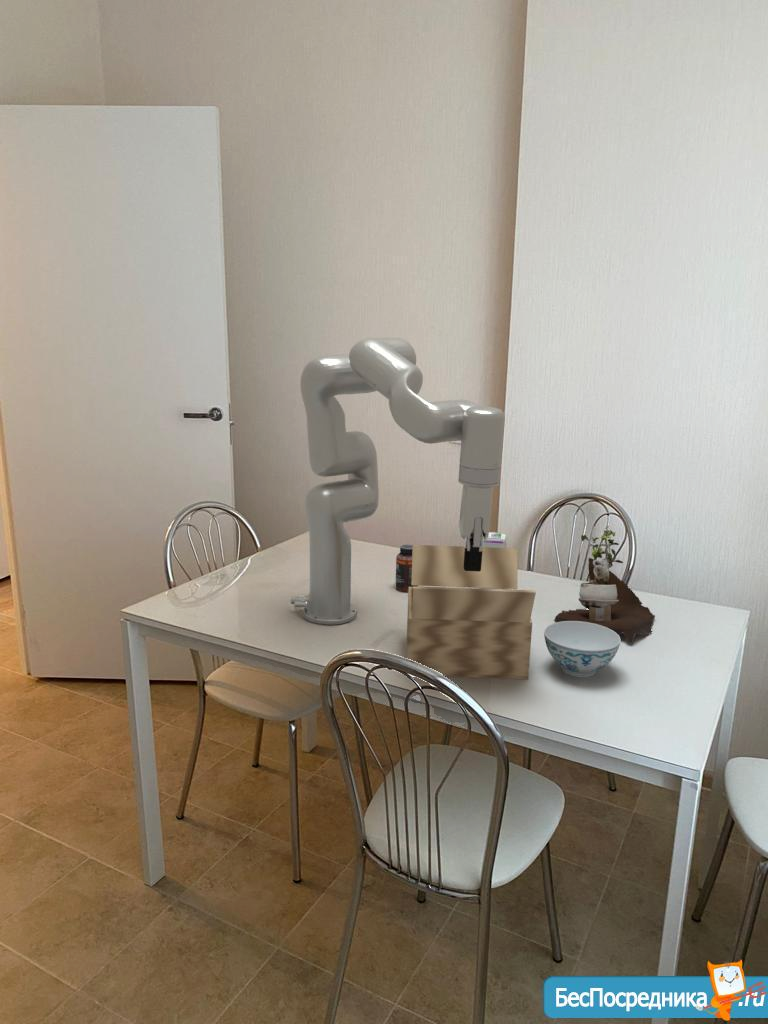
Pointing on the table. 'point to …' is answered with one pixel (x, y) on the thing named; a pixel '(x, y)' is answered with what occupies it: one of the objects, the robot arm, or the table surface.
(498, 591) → the front flap
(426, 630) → the carton
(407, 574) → the supplement bottle
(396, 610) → the table surface
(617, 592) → the potted plant
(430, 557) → the back flap
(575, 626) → the chinaware
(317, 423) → the robot arm
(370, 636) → the table surface
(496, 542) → the syrup box
